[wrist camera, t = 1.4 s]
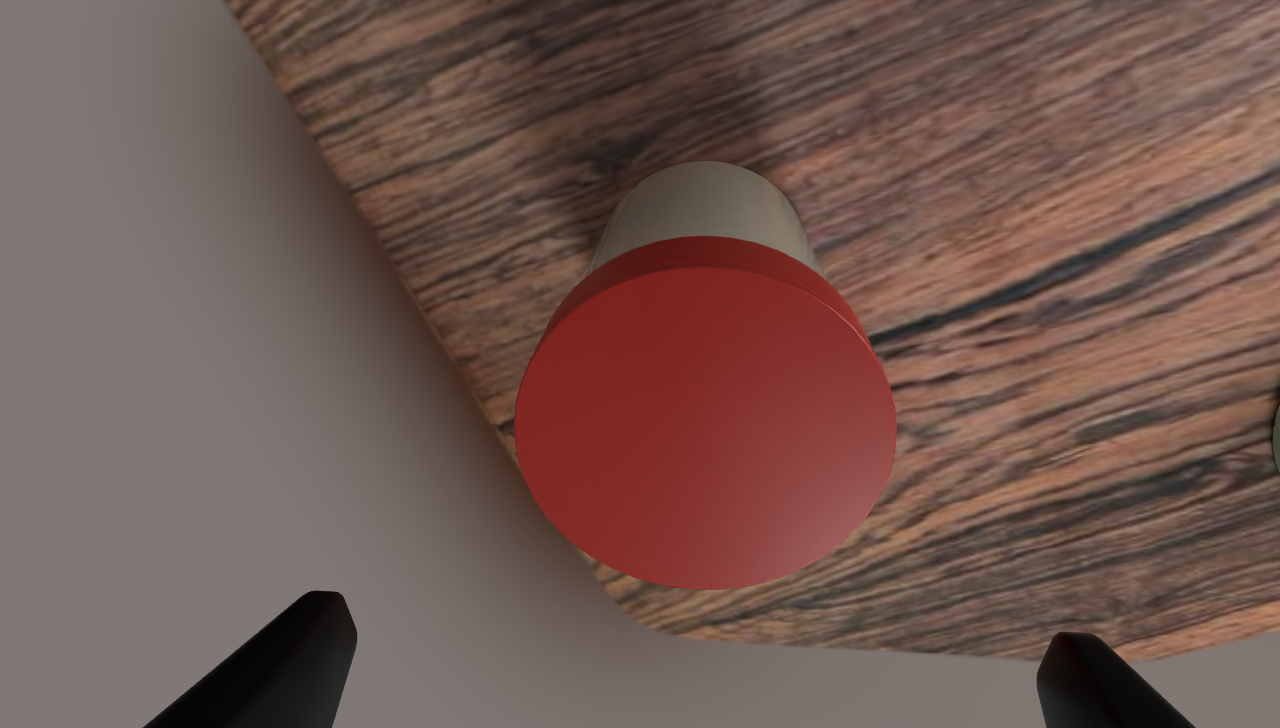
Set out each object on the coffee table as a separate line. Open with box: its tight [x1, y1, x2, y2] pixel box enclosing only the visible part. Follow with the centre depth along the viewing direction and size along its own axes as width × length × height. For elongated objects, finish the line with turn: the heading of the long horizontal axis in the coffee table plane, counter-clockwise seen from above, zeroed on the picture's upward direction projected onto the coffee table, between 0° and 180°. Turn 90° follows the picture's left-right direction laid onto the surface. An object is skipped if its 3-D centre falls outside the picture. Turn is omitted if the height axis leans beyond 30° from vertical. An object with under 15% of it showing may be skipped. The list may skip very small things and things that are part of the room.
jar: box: [580, 161, 828, 282], centre depth 17 cm, size 6×6×10 cm
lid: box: [514, 236, 897, 590], centre depth 14 cm, size 7×7×2 cm
